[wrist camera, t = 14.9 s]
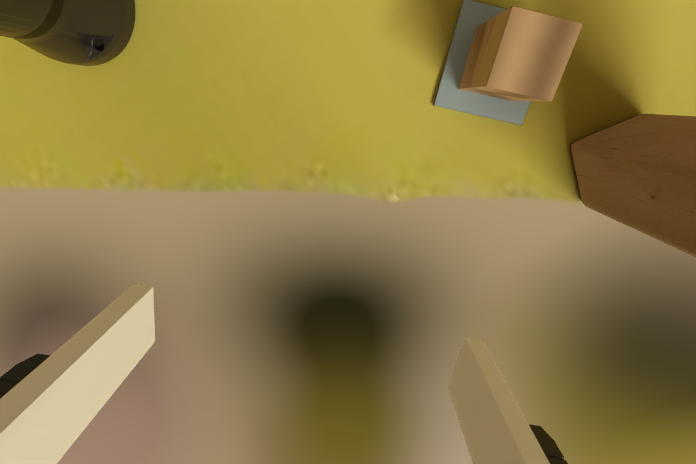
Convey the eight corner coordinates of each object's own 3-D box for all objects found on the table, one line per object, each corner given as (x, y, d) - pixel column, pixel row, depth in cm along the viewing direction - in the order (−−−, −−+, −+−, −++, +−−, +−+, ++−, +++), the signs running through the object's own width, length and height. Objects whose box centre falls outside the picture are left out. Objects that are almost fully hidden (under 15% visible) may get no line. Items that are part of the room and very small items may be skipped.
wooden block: (565, 142, 46) (709, 172, 28) (643, 110, 45) (850, 119, 26) (579, 206, 50) (716, 271, 31) (652, 179, 48) (842, 230, 29)
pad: (433, 105, 45) (434, 105, 44) (463, 0, 40) (464, -2, 40) (519, 124, 45) (521, 125, 45) (558, 23, 41) (560, 22, 41)
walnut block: (457, 88, 43) (486, 86, 34) (476, 27, 41) (512, 6, 32) (509, 100, 44) (551, 101, 35) (531, 40, 41) (583, 23, 32)
